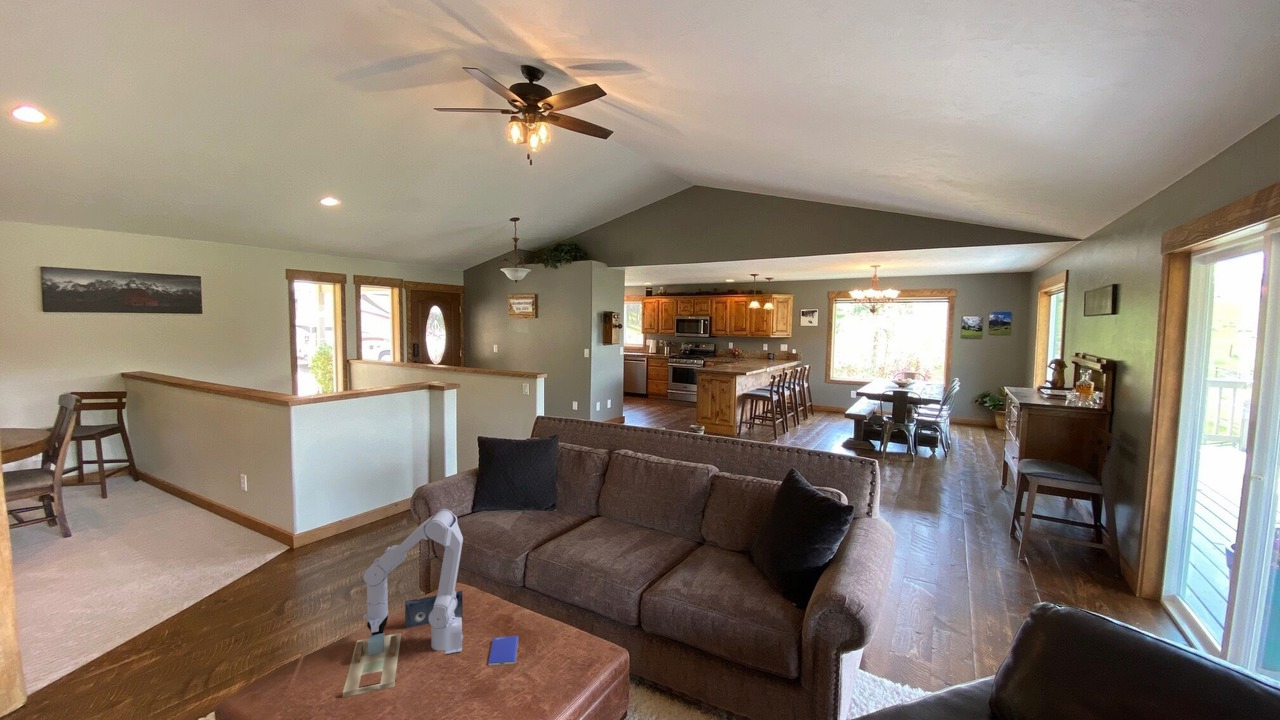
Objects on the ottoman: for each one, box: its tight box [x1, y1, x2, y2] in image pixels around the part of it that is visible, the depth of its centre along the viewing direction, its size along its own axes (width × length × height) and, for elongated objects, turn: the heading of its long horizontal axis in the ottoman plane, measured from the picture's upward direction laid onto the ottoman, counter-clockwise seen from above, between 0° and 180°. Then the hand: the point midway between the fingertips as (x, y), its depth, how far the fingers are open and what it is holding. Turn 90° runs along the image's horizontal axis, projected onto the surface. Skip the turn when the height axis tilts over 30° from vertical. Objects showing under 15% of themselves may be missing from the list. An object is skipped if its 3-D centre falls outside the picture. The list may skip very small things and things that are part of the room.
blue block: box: [368, 632, 385, 656], centre depth 159 cm, size 4×4×4 cm
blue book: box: [487, 635, 519, 667], centre depth 162 cm, size 2×8×12 cm
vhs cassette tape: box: [404, 590, 464, 629], centre depth 175 cm, size 18×3×10 cm, turn 114°
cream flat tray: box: [342, 632, 402, 698], centre depth 154 cm, size 13×24×4 cm, turn 21°
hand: (378, 640), depth 162 cm, fingers closed
